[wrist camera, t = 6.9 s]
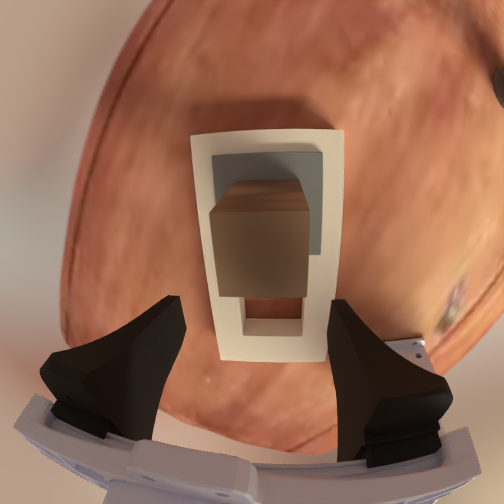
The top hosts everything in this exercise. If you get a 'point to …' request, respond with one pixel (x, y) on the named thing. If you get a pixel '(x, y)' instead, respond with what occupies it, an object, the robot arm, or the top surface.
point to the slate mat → (276, 168)
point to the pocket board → (320, 266)
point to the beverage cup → (499, 85)
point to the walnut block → (262, 240)
